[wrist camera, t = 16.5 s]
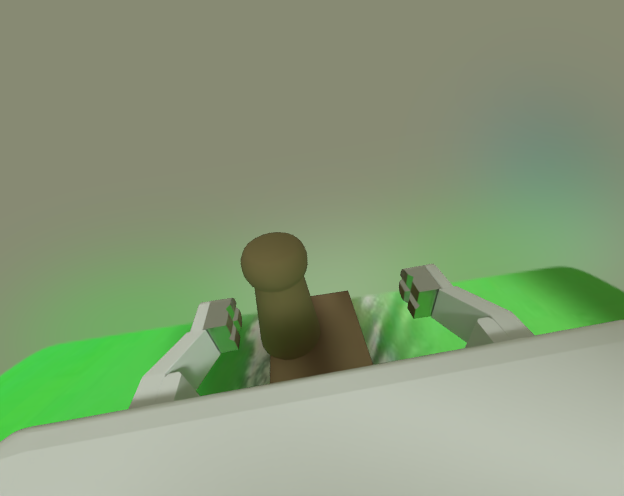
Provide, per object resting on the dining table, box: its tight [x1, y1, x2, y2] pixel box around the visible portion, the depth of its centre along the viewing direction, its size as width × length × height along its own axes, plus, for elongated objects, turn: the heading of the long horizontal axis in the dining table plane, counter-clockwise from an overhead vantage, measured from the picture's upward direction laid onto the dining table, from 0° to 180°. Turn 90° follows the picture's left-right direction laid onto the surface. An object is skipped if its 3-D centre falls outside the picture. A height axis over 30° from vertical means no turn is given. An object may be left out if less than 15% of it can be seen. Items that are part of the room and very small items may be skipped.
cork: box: [241, 232, 321, 360], centre depth 22 cm, size 6×6×11 cm
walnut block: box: [270, 291, 373, 384], centre depth 24 cm, size 9×15×6 cm, turn 7°
